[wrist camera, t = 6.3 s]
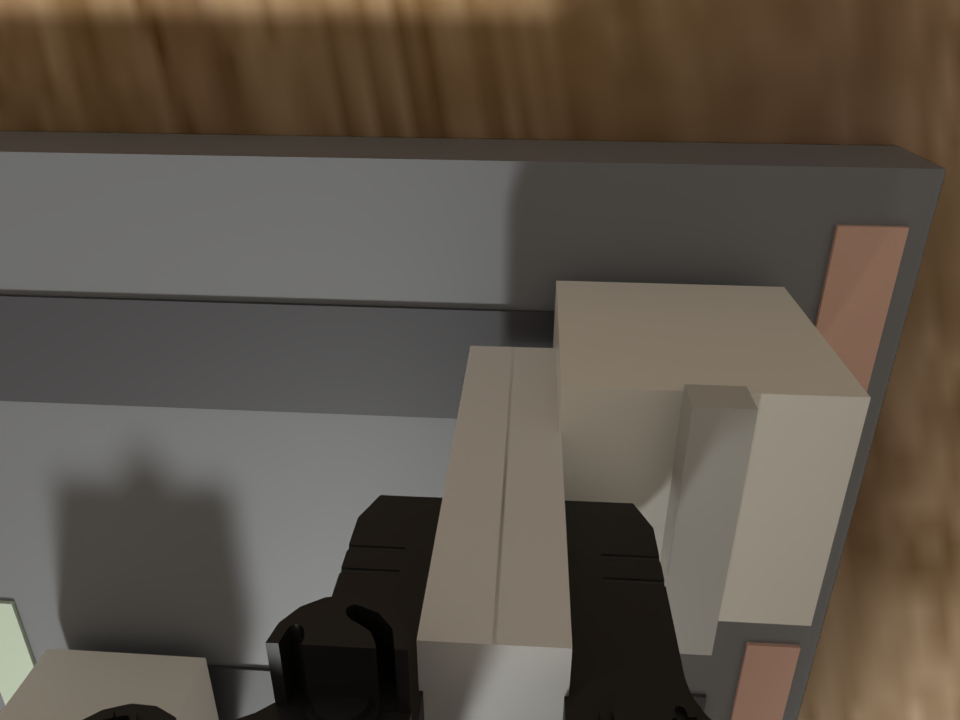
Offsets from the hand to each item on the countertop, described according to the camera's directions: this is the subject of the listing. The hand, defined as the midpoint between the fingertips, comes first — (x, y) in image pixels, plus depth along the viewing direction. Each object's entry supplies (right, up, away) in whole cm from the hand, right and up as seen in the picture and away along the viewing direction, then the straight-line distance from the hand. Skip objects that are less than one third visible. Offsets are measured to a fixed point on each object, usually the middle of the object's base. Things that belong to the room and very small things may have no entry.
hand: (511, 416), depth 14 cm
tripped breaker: (+3, +1, +1) cm, 3 cm away
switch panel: (-3, -3, +6) cm, 7 cm away
